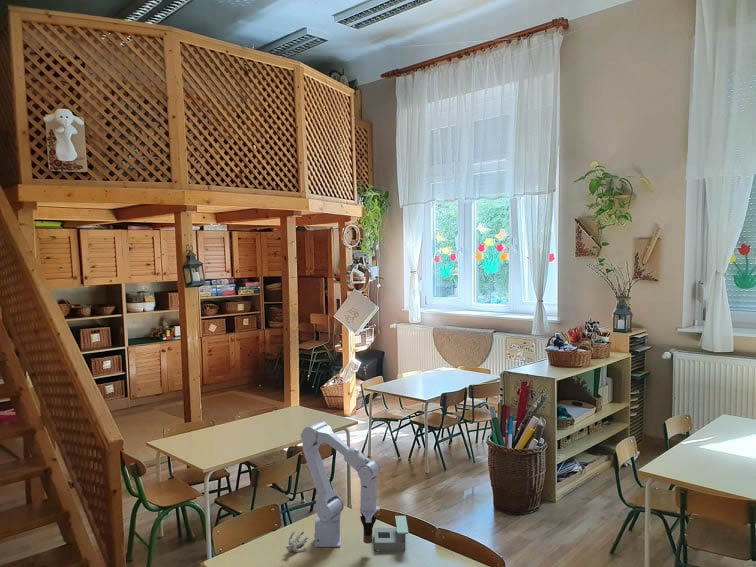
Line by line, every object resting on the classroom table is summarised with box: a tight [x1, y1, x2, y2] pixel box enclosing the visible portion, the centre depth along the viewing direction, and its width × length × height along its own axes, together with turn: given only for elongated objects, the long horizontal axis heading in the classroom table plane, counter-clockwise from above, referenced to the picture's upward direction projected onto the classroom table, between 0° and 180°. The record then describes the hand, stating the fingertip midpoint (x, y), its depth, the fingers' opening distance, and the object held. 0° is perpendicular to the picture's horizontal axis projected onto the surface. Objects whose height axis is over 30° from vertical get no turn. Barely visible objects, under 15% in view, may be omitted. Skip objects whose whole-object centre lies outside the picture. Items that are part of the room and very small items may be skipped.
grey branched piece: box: [285, 530, 309, 553], centre depth 199 cm, size 8×5×12 cm
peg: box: [362, 516, 374, 544], centre depth 196 cm, size 3×3×9 cm
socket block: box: [373, 515, 409, 552], centre depth 204 cm, size 12×13×7 cm
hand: (367, 533), depth 196 cm, fingers closed on peg, 3 cm apart
